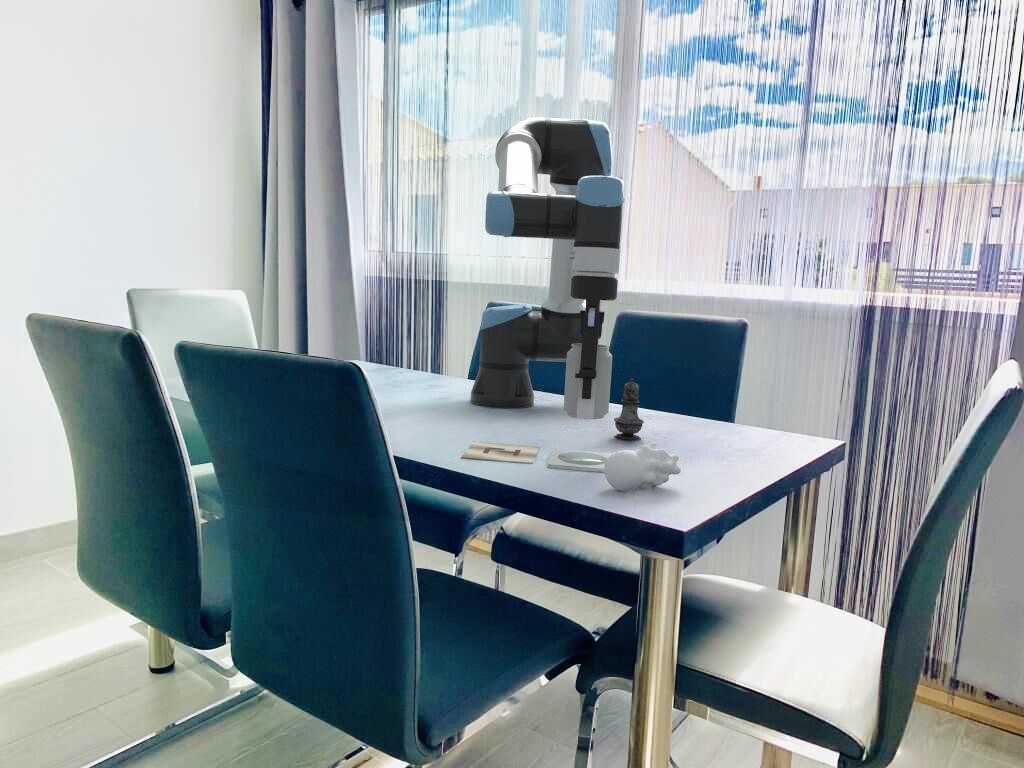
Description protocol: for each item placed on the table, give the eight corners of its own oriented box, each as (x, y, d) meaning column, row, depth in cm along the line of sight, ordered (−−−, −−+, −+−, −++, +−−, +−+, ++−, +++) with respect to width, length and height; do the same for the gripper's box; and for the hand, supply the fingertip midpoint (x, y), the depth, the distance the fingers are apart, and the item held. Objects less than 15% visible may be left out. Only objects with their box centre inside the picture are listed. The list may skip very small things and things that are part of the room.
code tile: (473, 442, 136) (474, 441, 136) (539, 447, 135) (539, 446, 135) (461, 458, 125) (461, 456, 125) (532, 464, 123) (532, 462, 123)
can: (606, 421, 120) (611, 347, 119) (560, 417, 122) (564, 344, 120) (609, 414, 128) (614, 343, 126) (566, 410, 129) (570, 340, 127)
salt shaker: (606, 437, 147) (610, 376, 145) (623, 433, 151) (628, 374, 149) (631, 443, 143) (636, 380, 141) (648, 439, 147) (653, 378, 145)
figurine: (589, 466, 113) (651, 455, 119) (606, 505, 110) (670, 492, 116) (609, 443, 108) (674, 432, 114) (628, 484, 105) (693, 471, 111)
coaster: (552, 451, 132) (552, 448, 132) (615, 457, 131) (615, 453, 131) (547, 467, 121) (547, 463, 121) (615, 473, 120) (615, 469, 120)
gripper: (574, 274, 132) (566, 402, 135) (568, 273, 112) (559, 423, 115) (617, 276, 131) (608, 405, 134) (618, 275, 111) (608, 427, 114)
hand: (585, 413), depth 125 cm, fingers closed on can, 7 cm apart
